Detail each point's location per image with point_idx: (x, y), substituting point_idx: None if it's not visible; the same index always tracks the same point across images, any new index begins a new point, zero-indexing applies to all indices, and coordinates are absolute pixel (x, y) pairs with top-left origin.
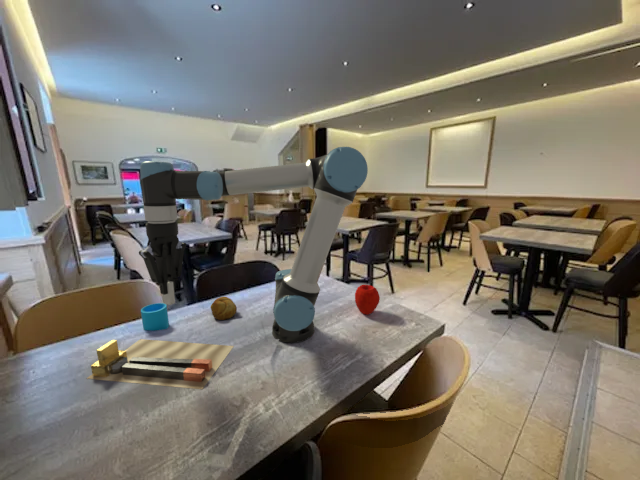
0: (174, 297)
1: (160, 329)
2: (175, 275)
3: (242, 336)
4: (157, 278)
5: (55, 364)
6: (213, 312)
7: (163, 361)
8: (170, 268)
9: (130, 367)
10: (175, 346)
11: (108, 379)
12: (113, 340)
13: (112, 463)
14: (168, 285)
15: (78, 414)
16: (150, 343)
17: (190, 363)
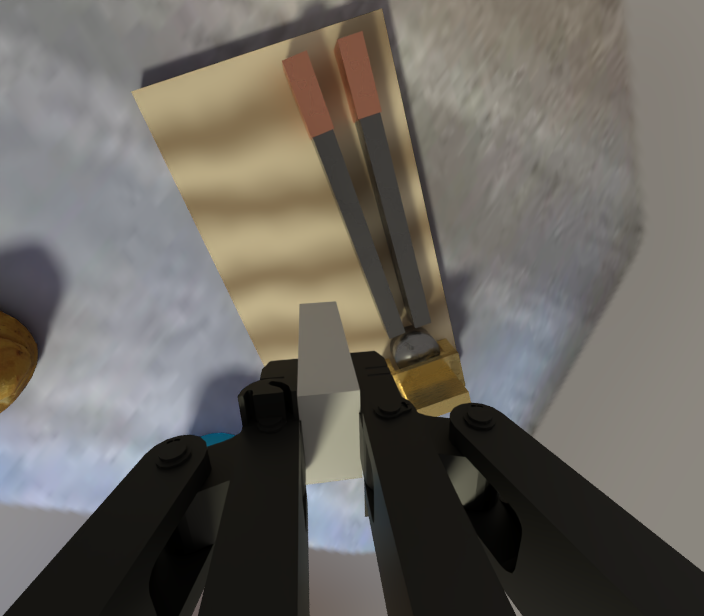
0: (300, 319)
1: (224, 439)
2: (242, 452)
3: (42, 138)
4: (532, 450)
5: None
6: (27, 360)
7: (367, 233)
8: (299, 586)
9: (424, 298)
10: (265, 307)
11: (447, 325)
12: None
13: (605, 58)
14: (356, 378)
15: (525, 279)
16: None
17: (333, 132)
